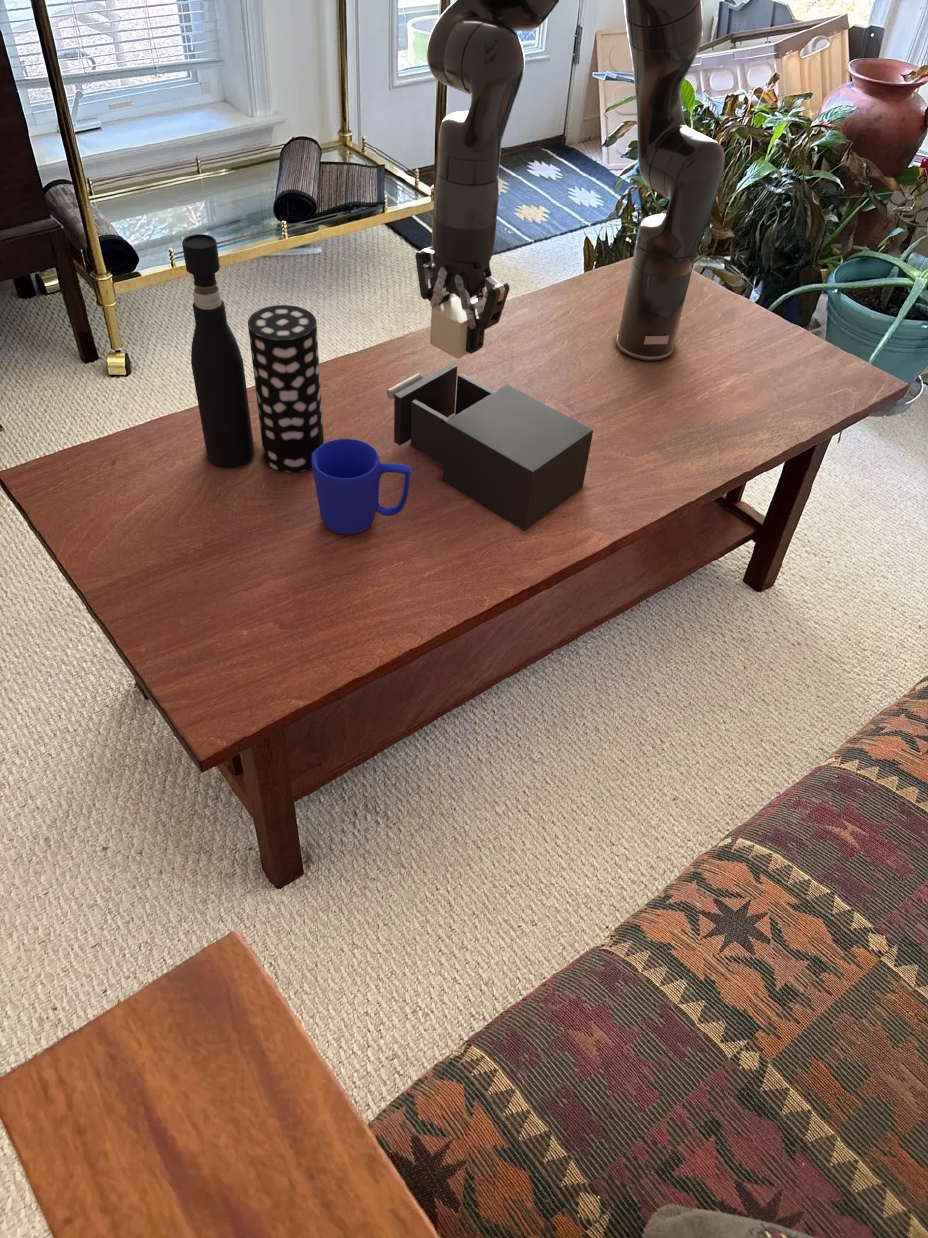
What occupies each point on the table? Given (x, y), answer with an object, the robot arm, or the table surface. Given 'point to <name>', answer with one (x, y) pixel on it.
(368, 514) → the mug
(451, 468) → the cabinet
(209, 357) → the black bottle
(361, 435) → the table surface
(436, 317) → the block
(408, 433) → the drawer
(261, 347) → the spotted tube
